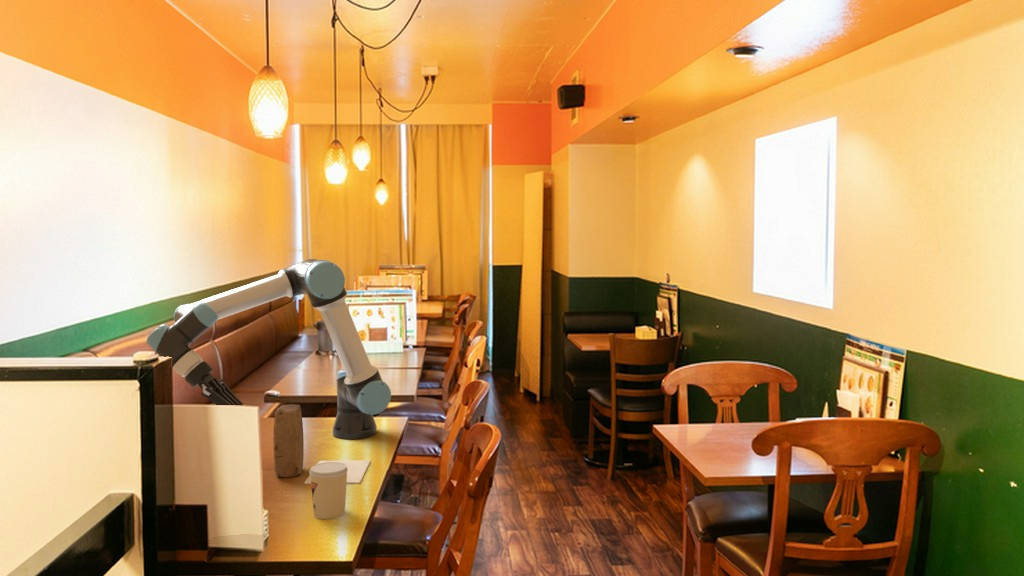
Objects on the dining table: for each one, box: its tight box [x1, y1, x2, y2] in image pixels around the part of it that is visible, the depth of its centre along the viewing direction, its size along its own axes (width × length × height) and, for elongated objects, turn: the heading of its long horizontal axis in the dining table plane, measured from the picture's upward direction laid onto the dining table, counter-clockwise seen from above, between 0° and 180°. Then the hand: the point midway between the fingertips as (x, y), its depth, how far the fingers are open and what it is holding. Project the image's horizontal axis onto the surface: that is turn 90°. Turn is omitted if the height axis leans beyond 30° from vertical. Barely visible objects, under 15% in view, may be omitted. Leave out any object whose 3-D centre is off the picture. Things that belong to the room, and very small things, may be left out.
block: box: [273, 403, 305, 478], centre depth 224 cm, size 11×8×20 cm
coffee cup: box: [309, 462, 348, 520], centre depth 193 cm, size 9×9×12 cm
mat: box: [303, 459, 371, 485], centre depth 225 cm, size 20×16×1 cm
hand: (253, 425), depth 223 cm, fingers closed
